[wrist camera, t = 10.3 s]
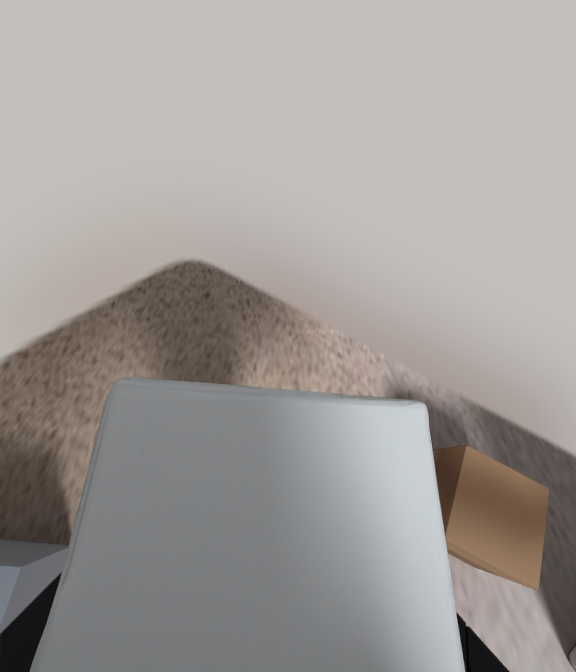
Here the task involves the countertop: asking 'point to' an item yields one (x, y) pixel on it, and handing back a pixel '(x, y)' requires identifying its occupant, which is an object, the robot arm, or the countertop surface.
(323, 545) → the skincare box
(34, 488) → the countertop surface
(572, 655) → the coffee box
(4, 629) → the robot arm
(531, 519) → the walnut block
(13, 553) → the slate block
